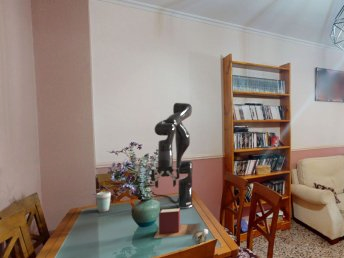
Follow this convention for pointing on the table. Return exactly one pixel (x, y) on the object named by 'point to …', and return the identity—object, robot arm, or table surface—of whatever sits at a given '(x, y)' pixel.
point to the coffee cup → (103, 201)
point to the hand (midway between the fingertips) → (165, 186)
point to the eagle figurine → (200, 235)
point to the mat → (180, 231)
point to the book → (169, 221)
